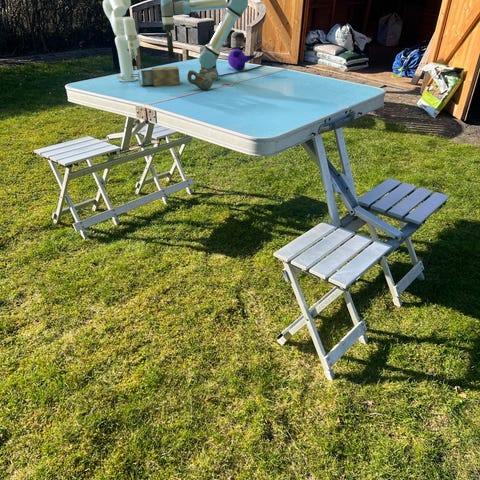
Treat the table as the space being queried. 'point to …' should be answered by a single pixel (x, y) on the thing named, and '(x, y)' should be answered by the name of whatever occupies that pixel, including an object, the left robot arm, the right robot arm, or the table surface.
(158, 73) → the cabinet
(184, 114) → the table surface
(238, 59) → the toy
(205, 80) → the teapot
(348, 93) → the table surface
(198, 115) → the table surface
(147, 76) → the drawer
